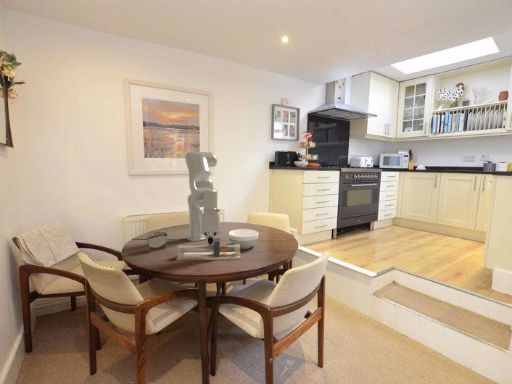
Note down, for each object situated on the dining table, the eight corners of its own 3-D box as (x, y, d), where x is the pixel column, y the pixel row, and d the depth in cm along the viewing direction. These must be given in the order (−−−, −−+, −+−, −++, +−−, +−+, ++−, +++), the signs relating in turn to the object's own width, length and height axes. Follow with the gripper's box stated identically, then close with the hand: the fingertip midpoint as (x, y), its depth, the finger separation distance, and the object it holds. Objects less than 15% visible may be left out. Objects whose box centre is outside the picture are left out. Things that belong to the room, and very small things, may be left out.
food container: (163, 246, 156) (163, 230, 155) (168, 248, 152) (167, 232, 151) (143, 250, 147) (142, 234, 146) (147, 253, 143) (147, 236, 142)
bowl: (223, 248, 153) (223, 234, 153) (236, 240, 171) (236, 227, 170) (251, 252, 147) (251, 238, 146) (262, 243, 164) (262, 230, 163)
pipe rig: (180, 254, 142) (179, 243, 141) (239, 253, 145) (239, 242, 144) (176, 260, 133) (176, 249, 132) (240, 259, 136) (240, 247, 136)
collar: (214, 252, 143) (214, 238, 142) (219, 252, 143) (219, 238, 142) (213, 256, 136) (213, 242, 135) (219, 256, 136) (219, 241, 135)
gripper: (224, 210, 141) (224, 241, 143) (197, 210, 139) (197, 242, 141) (223, 212, 133) (223, 246, 135) (195, 213, 132) (195, 246, 134)
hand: (210, 244), depth 138 cm, fingers closed
